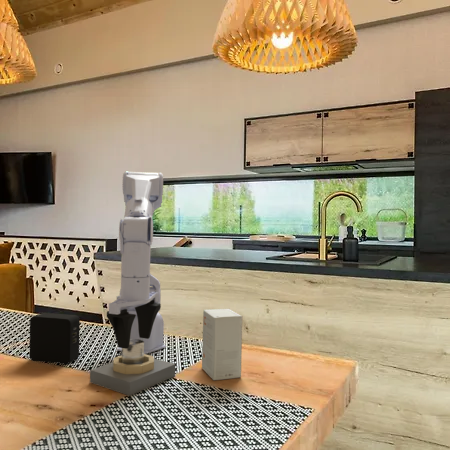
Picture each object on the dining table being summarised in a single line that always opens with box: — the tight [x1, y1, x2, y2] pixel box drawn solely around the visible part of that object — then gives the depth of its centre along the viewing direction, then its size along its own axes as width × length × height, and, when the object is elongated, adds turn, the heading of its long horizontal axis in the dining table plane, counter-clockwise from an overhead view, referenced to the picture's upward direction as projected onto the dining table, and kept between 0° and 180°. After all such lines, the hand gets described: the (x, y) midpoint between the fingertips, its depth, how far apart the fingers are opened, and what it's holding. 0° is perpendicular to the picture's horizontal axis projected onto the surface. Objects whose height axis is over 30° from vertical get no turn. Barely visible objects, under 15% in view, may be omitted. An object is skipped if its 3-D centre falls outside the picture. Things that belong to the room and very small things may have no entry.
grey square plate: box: [89, 354, 176, 396], centre depth 94 cm, size 13×11×4 cm
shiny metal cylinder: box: [121, 339, 144, 365], centre depth 94 cm, size 4×4×5 cm
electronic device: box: [29, 312, 81, 365], centre depth 105 cm, size 4×10×10 cm, turn 78°
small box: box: [201, 308, 243, 381], centre depth 99 cm, size 8×6×13 cm
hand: (134, 342), depth 94 cm, fingers open, 7 cm apart
